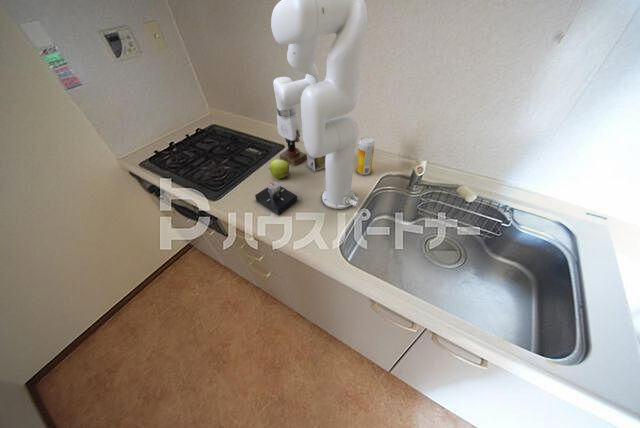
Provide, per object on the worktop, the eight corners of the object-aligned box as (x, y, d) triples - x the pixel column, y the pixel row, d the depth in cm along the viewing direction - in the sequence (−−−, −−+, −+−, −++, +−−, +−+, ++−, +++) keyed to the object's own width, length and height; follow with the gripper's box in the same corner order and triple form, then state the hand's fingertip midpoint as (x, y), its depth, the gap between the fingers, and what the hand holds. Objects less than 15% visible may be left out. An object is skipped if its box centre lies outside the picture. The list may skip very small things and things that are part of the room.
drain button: (298, 153, 113) (297, 150, 112) (292, 156, 111) (292, 153, 110) (292, 151, 115) (292, 148, 113) (287, 154, 113) (287, 151, 112)
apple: (270, 172, 107) (267, 156, 101) (290, 170, 107) (288, 155, 102) (269, 182, 101) (265, 167, 96) (290, 180, 102) (288, 165, 96)
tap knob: (283, 194, 91) (281, 183, 87) (275, 200, 88) (272, 189, 85) (276, 190, 93) (273, 179, 89) (267, 195, 91) (264, 184, 87)
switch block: (306, 158, 114) (305, 150, 111) (294, 165, 110) (293, 158, 107) (292, 151, 119) (291, 144, 116) (280, 158, 115) (279, 151, 112)
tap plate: (297, 201, 92) (296, 195, 90) (278, 215, 87) (277, 209, 85) (275, 188, 99) (274, 182, 96) (256, 201, 93) (254, 194, 91)
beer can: (367, 166, 107) (370, 135, 96) (373, 173, 103) (377, 142, 92) (354, 169, 106) (357, 138, 95) (360, 177, 102) (363, 145, 91)
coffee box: (323, 159, 113) (322, 126, 102) (331, 165, 109) (331, 131, 98) (307, 165, 110) (304, 132, 98) (315, 172, 106) (312, 138, 94)
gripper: (268, 110, 100) (275, 149, 113) (293, 118, 93) (297, 159, 106) (281, 104, 104) (287, 142, 117) (306, 112, 97) (309, 152, 110)
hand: (292, 150), depth 112 cm, fingers closed
